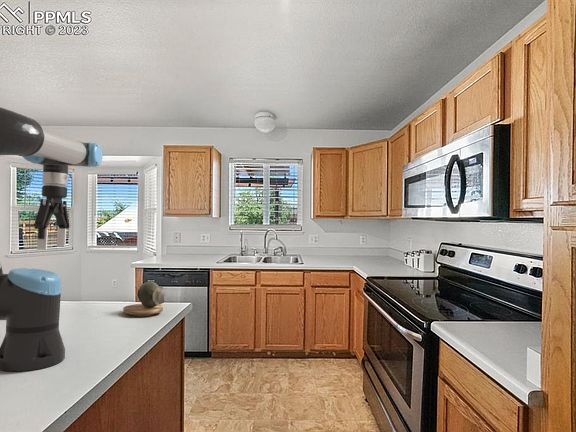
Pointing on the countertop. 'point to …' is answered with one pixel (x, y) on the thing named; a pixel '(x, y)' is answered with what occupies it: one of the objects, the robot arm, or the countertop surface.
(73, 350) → the countertop surface
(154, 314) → the susan base
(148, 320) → the countertop surface
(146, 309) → the lazy susan
